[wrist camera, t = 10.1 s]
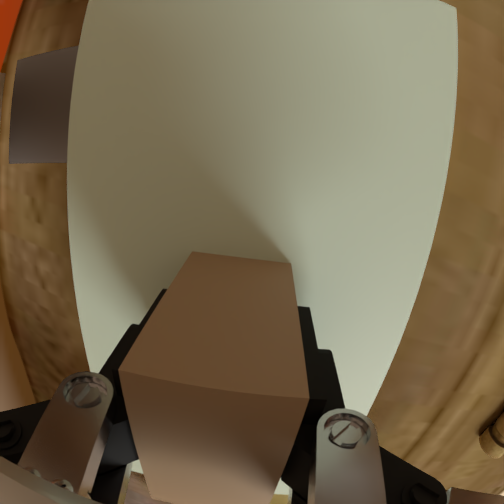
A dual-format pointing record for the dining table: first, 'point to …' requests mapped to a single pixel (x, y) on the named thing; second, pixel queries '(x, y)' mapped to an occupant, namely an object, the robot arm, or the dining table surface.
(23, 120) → the toolbox
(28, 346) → the dining table surface
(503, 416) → the gavel
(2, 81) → the bar
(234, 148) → the lid
